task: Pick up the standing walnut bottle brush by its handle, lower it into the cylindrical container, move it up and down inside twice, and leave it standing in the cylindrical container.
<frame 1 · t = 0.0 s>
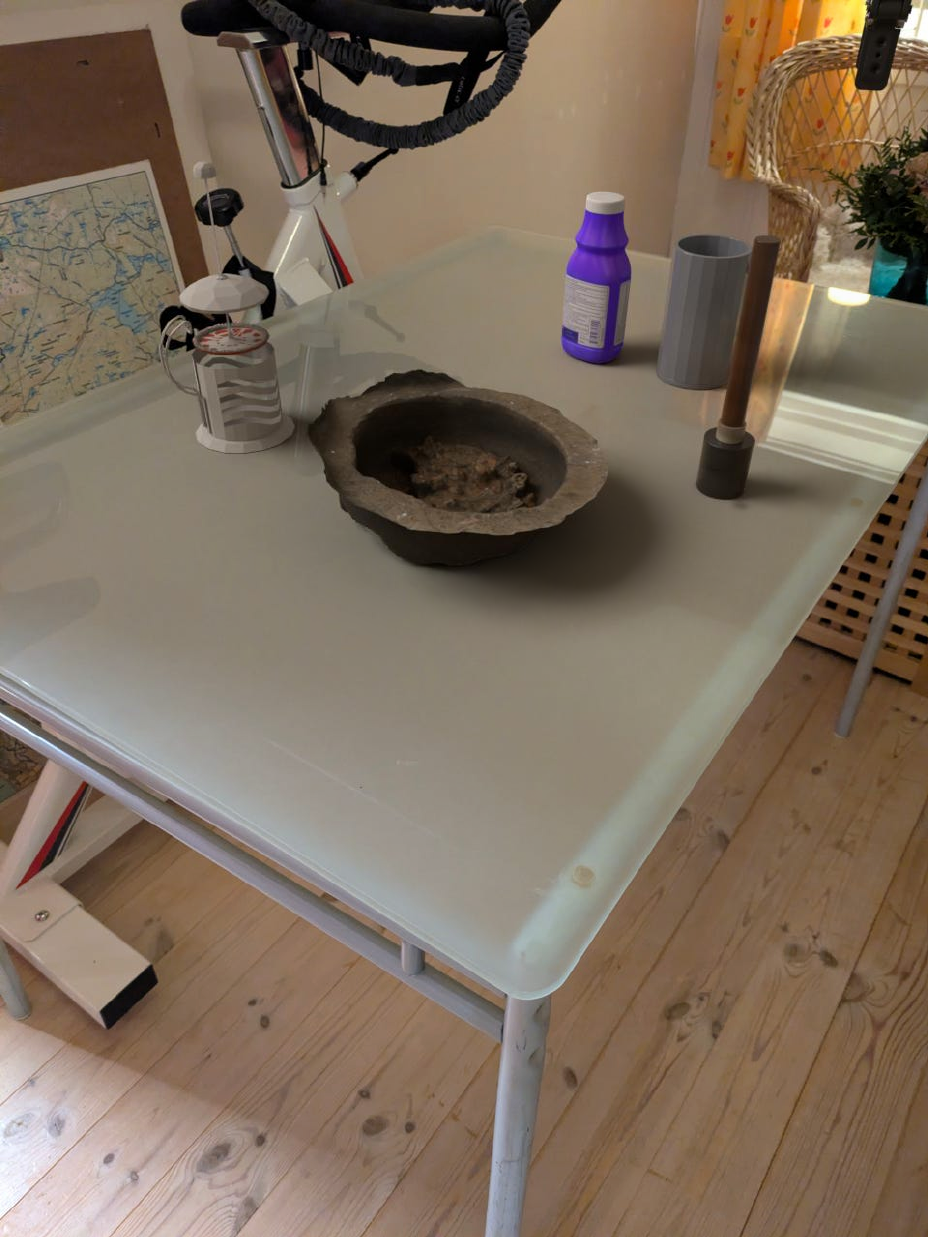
hand: (869, 79, 71), 32 cm above the table, tool pointing down, fingers open, 8 cm apart
french press: (237, 433, 95), on the table
bottle: (591, 356, 110), on the table
brush: (720, 486, 87), on the table
cylindrical container: (692, 374, 106), on the table
stone bowl: (459, 518, 83), on the table
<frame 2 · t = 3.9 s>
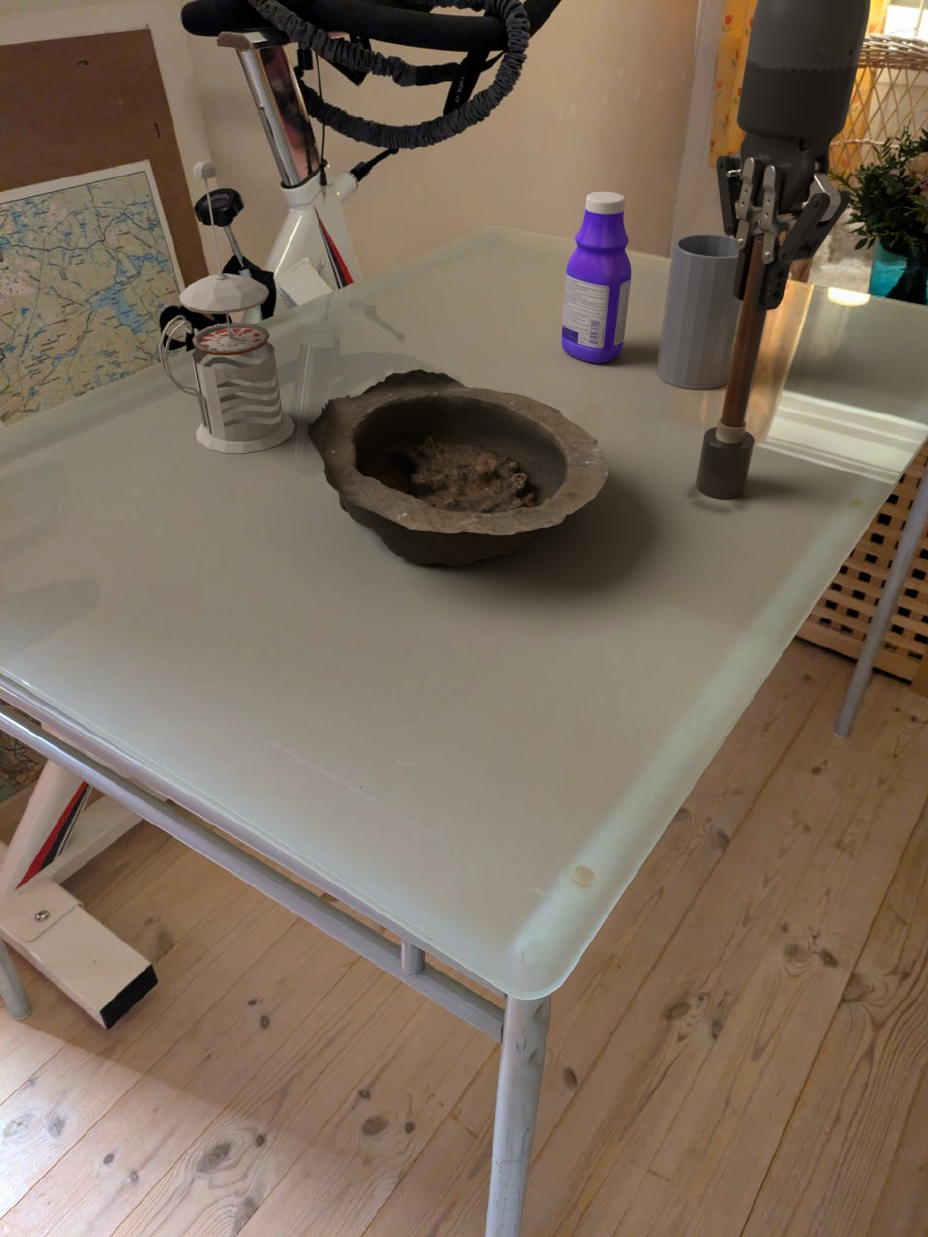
hand: (755, 302, 76), 17 cm above the table, tool pointing down, fingers closed on brush, 2 cm apart
brush: (719, 486, 87), on the table, touching gripper
everything else where it was.
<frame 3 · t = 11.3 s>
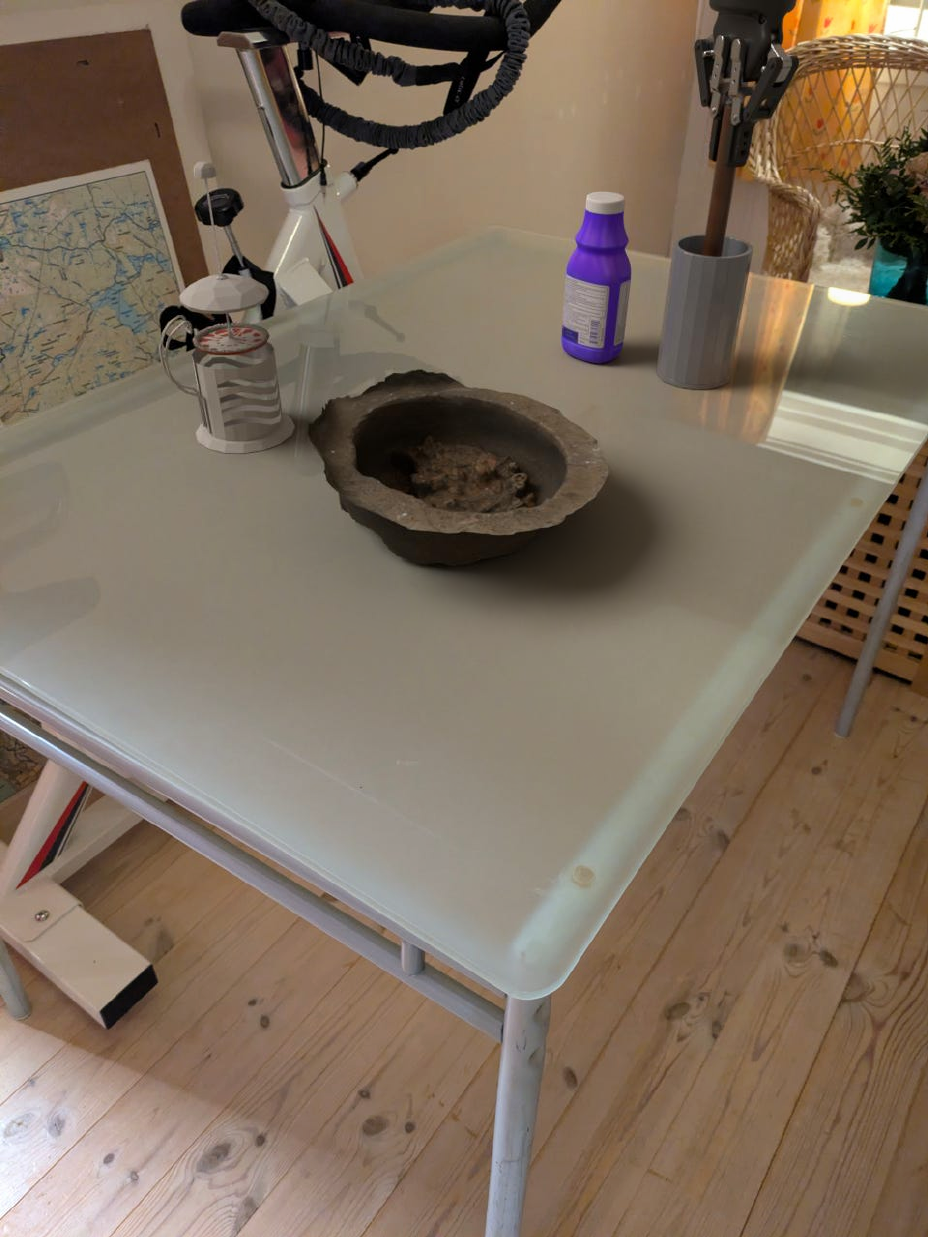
hand: (726, 162, 93), 22 cm above the table, tool pointing down, fingers closed on brush
brush: (699, 332, 103), point 5 cm above the table, touching gripper
everything else where it was.
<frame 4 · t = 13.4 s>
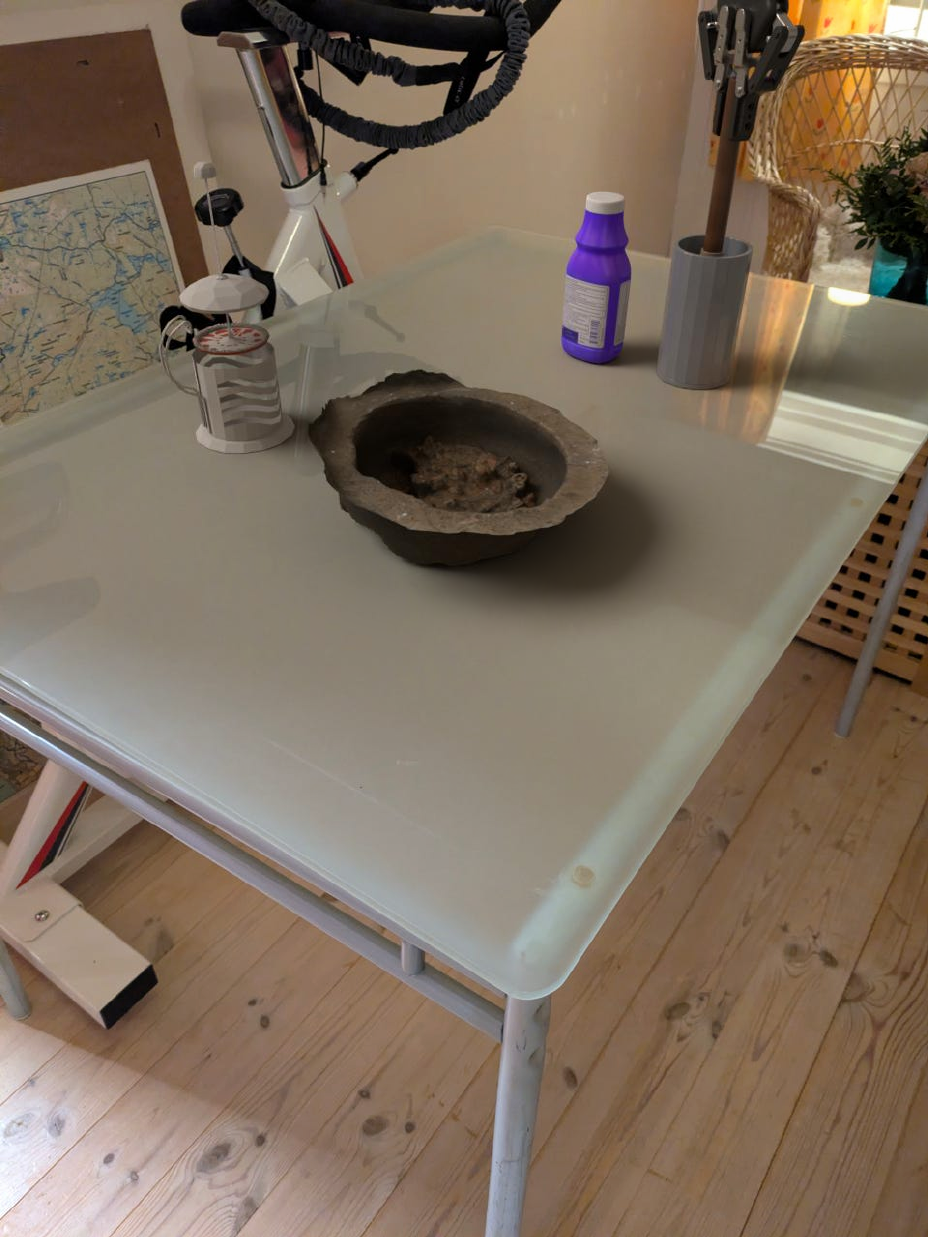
hand: (730, 136, 91), 24 cm above the table, tool pointing down, fingers closed on brush
brush: (702, 311, 102), point 7 cm above the table, touching gripper
everything else where it was.
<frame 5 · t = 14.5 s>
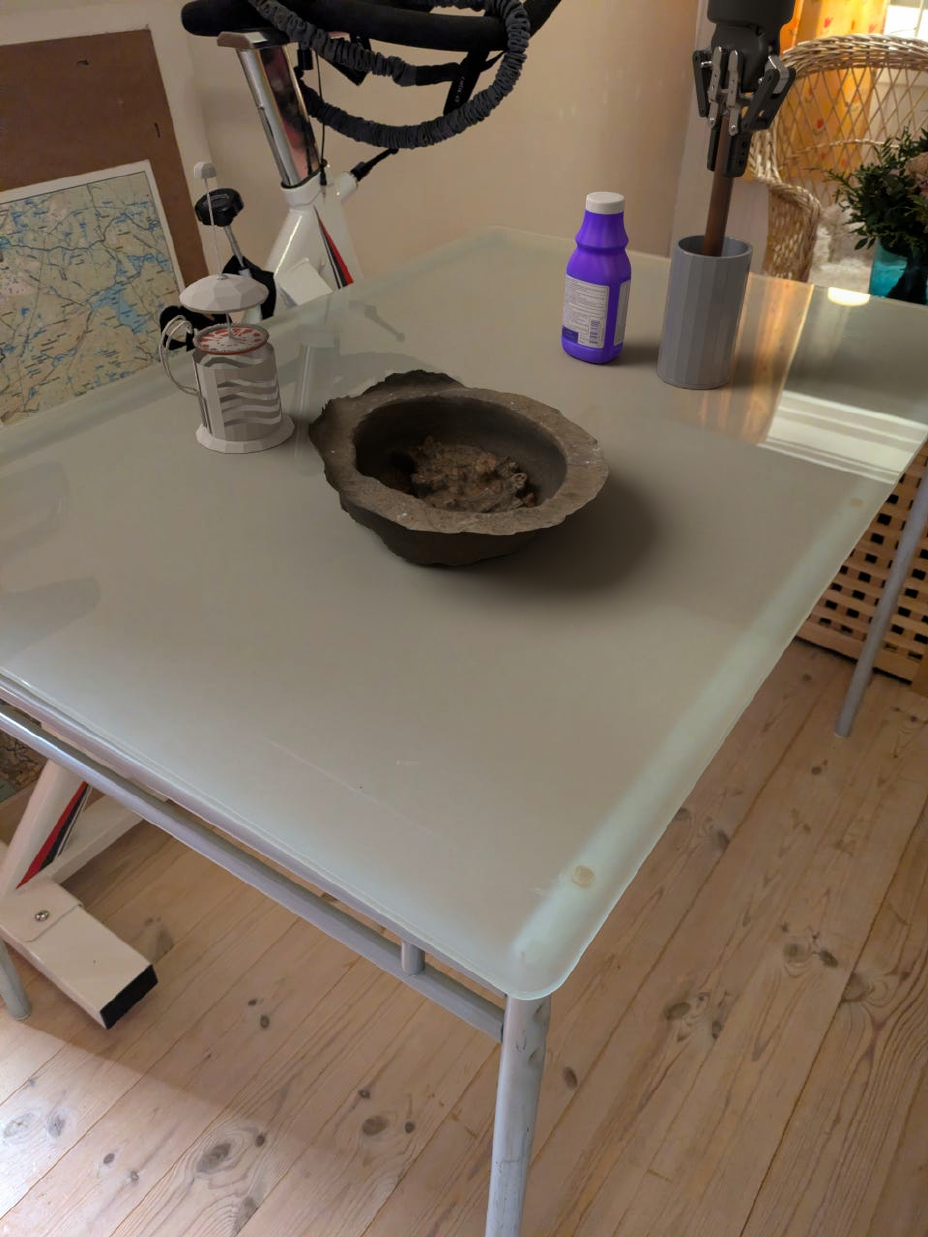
hand: (724, 172, 93), 21 cm above the table, tool pointing down, fingers closed on brush
brush: (698, 340, 104), point 4 cm above the table, touching gripper
everything else where it was.
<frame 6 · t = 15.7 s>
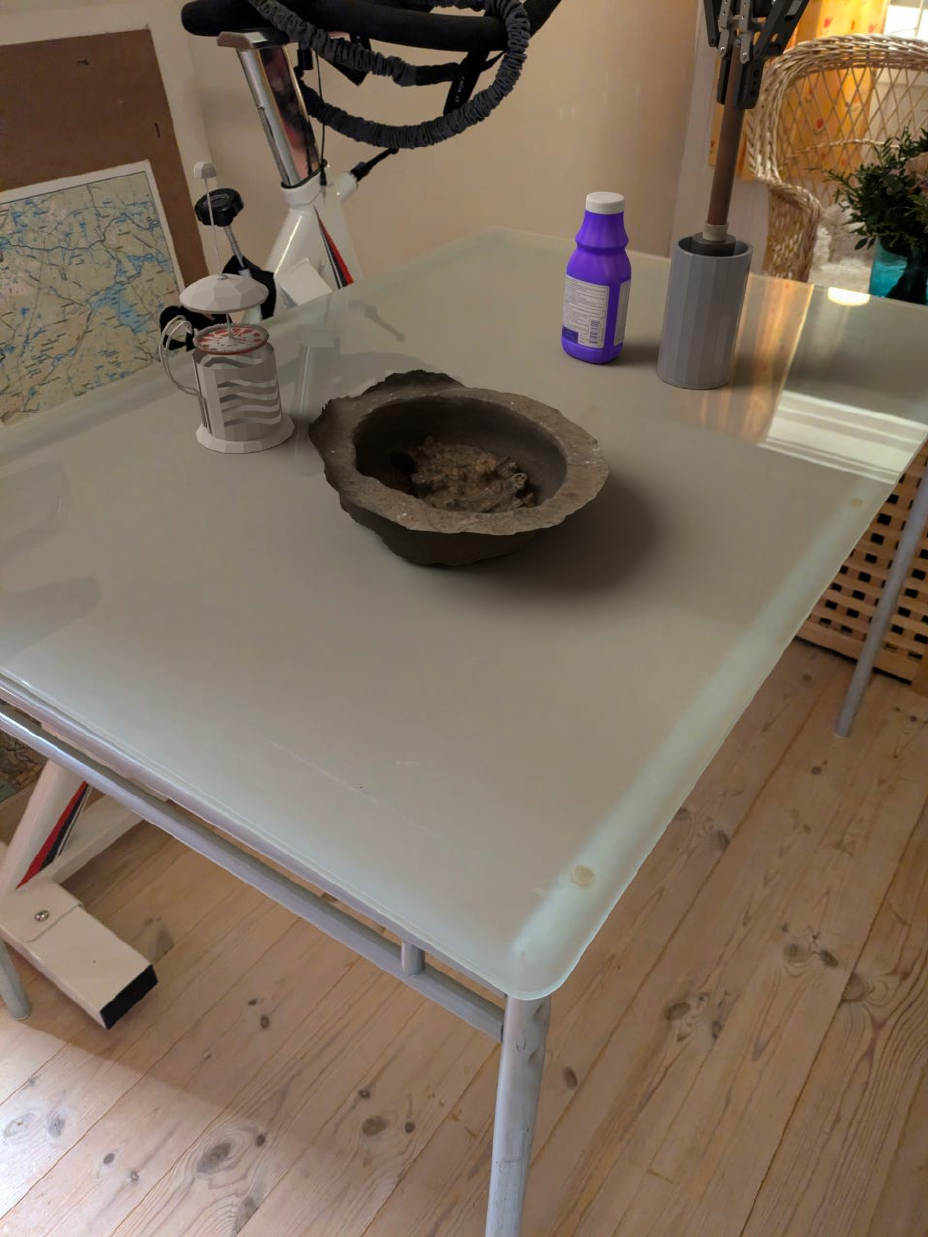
hand: (735, 105, 89), 27 cm above the table, tool pointing down, fingers closed on brush
brush: (706, 286, 100), point 10 cm above the table, touching gripper
everything else where it was.
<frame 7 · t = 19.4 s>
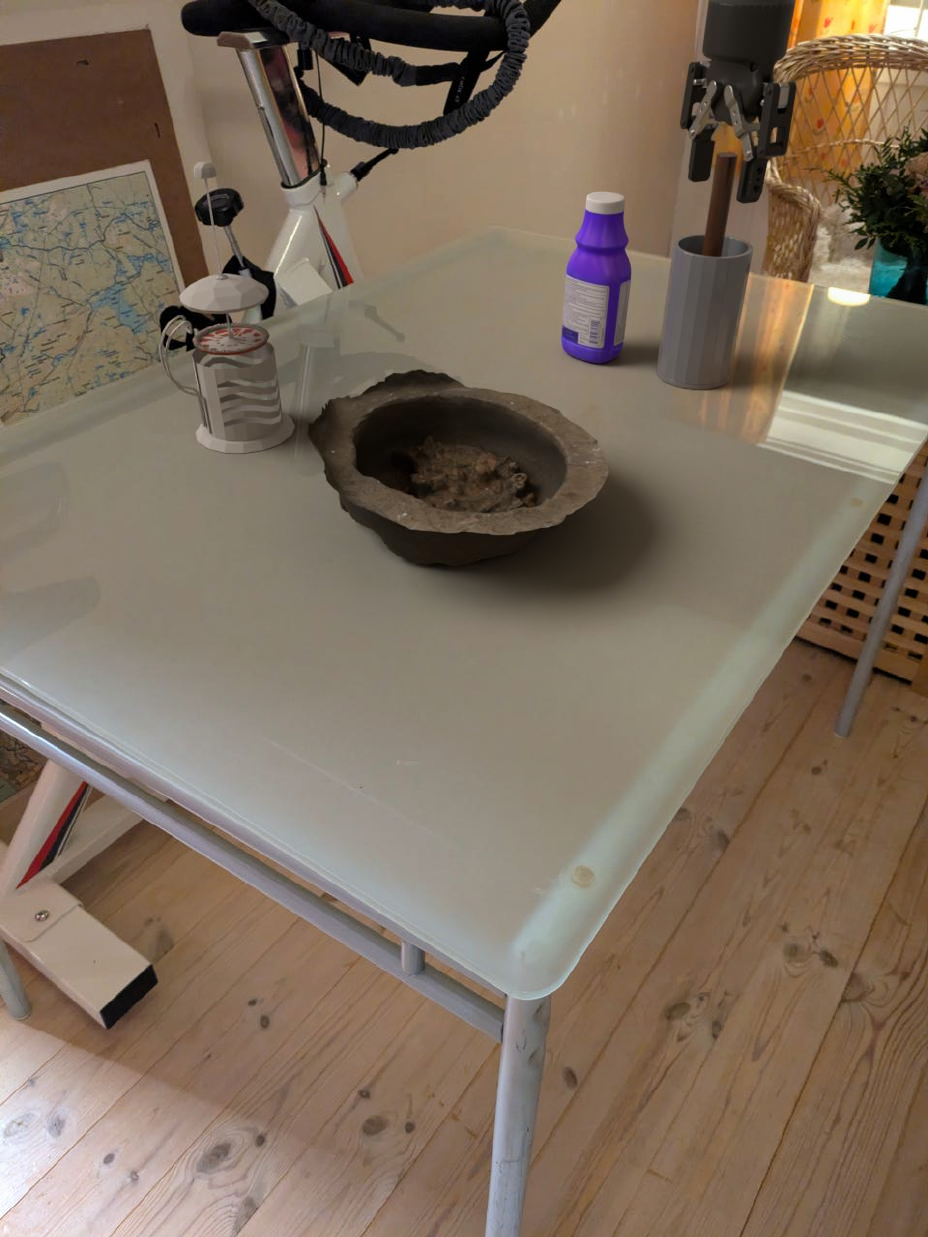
hand: (721, 190, 94), 19 cm above the table, tool pointing down, fingers open, 8 cm apart
brush: (693, 369, 106), point 1 cm above the table, touching cylindrical container
everything else where it was.
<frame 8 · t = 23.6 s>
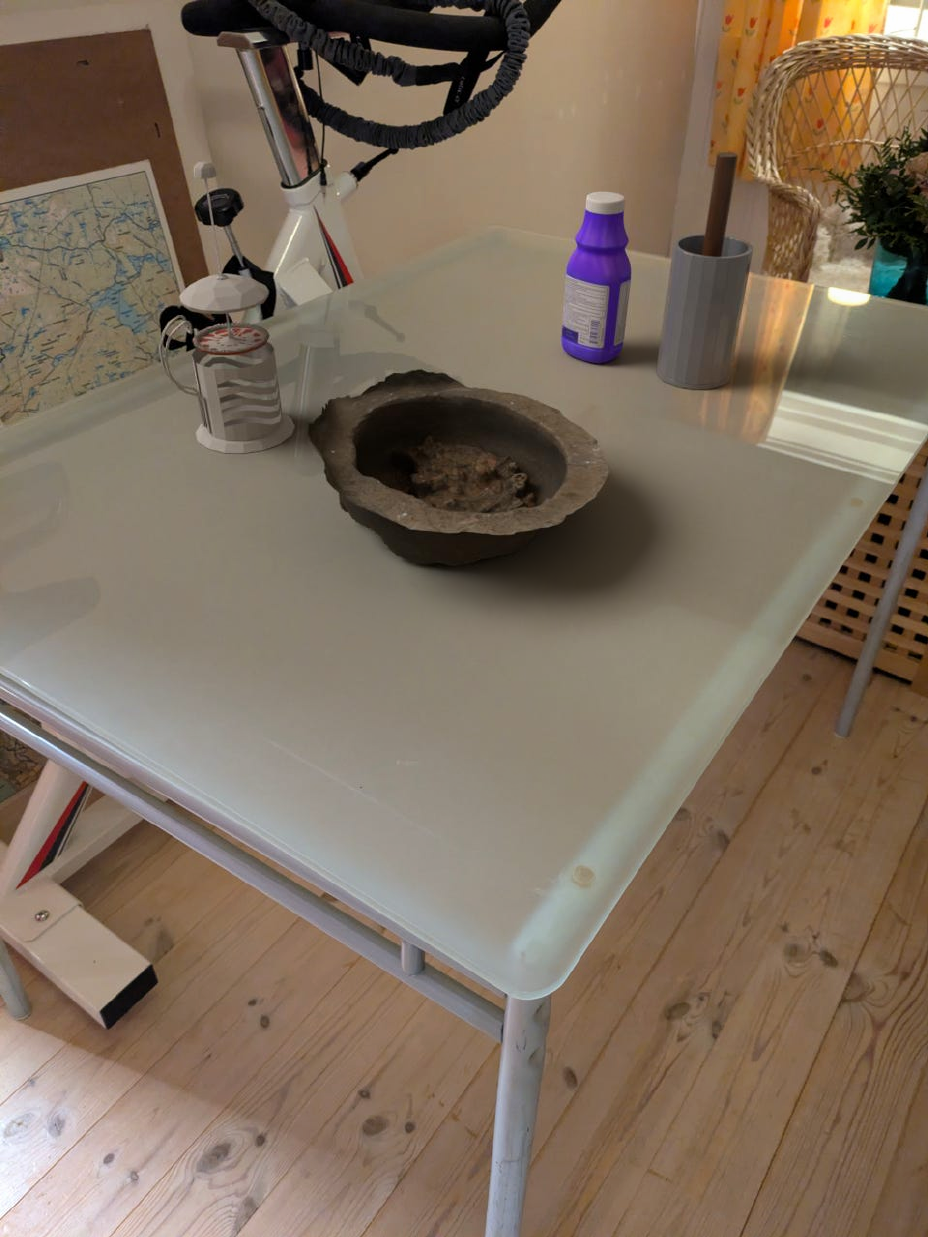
nothing on the table moved.
at the end: brush 0.0 cm off-centre in the cylindrical container, point 0.6 cm above the cylindrical container's base; brush tilted 0°; the gripper is holding nothing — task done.
